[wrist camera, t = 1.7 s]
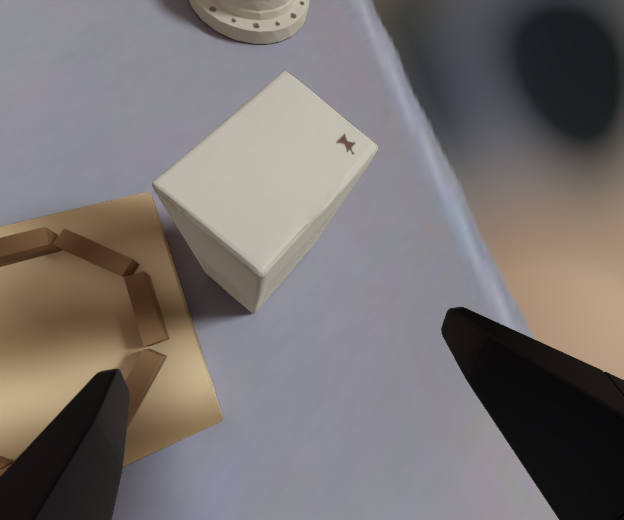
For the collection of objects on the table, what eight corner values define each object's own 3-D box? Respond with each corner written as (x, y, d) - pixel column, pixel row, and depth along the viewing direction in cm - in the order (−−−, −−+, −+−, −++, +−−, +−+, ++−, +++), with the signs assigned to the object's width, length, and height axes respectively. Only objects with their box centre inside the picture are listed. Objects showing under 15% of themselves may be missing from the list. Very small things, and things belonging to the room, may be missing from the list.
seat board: (222, 416, 18) (219, 426, 16) (-88, 559, 14) (-154, 601, 12) (153, 200, 20) (142, 182, 18) (-131, 269, 16) (-192, 257, 14)
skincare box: (264, 209, 22) (287, 62, 10) (311, 249, 22) (386, 145, 10) (200, 274, 20) (143, 179, 8) (252, 317, 20) (266, 283, 8)
